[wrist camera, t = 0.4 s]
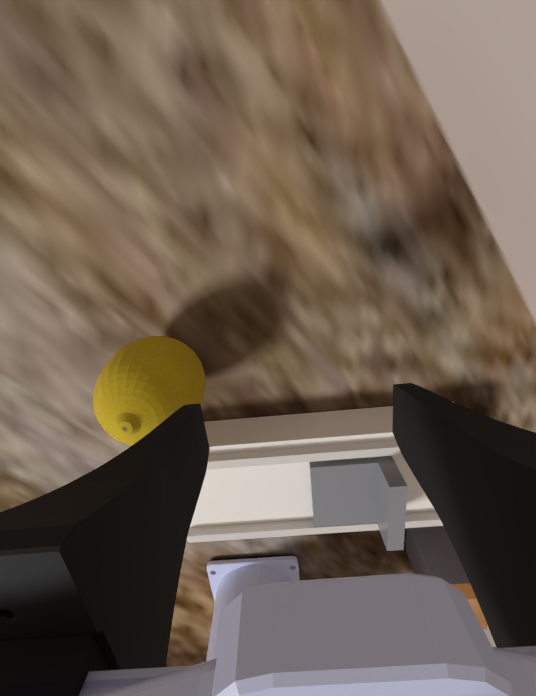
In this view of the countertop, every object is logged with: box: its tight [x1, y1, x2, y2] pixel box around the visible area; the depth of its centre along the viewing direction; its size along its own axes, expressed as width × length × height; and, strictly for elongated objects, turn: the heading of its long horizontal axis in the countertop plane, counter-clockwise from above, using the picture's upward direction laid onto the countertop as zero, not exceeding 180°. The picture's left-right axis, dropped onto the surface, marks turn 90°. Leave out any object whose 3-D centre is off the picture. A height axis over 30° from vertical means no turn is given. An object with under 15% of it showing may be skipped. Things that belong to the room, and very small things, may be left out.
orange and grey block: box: [406, 526, 488, 629], centre depth 25 cm, size 3×3×6 cm
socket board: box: [187, 401, 453, 543], centre depth 23 cm, size 20×8×4 cm, turn 96°
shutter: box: [309, 456, 407, 551], centre depth 20 cm, size 5×5×3 cm
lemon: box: [93, 336, 206, 445], centre depth 18 cm, size 6×6×8 cm
